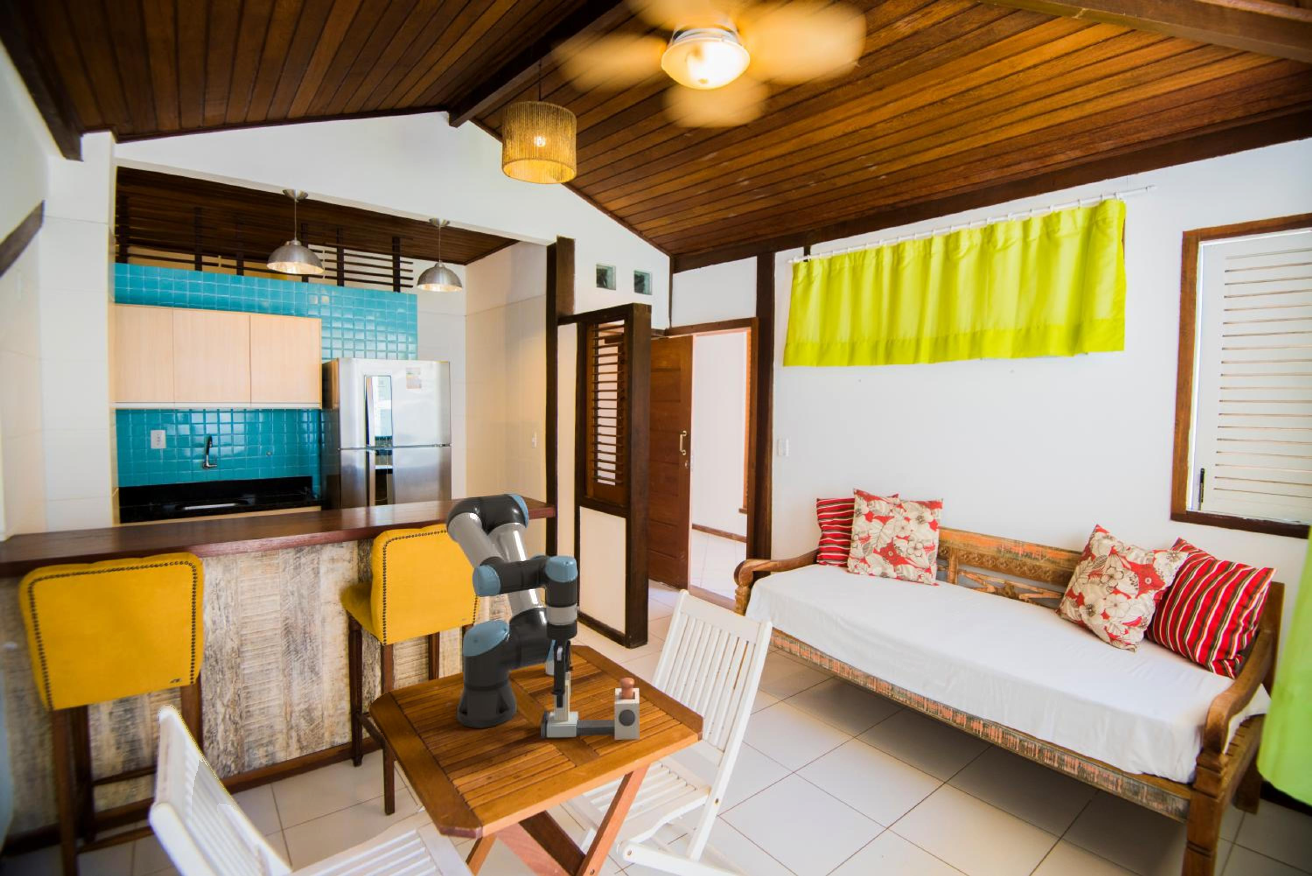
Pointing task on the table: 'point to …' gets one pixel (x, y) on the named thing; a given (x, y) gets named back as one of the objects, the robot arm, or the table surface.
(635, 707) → the grey box housing
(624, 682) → the button
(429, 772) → the table surface
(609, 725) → the rail
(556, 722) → the carriage
